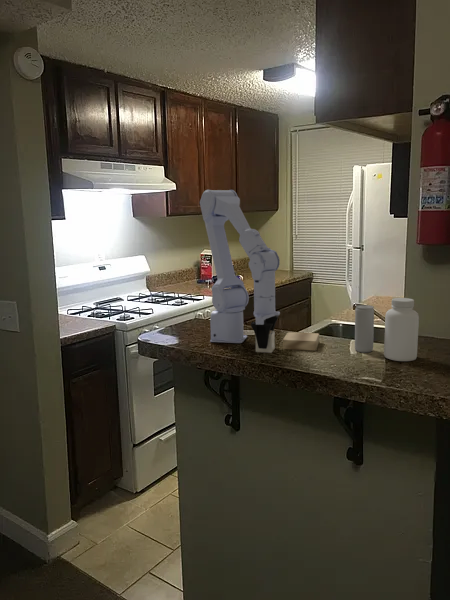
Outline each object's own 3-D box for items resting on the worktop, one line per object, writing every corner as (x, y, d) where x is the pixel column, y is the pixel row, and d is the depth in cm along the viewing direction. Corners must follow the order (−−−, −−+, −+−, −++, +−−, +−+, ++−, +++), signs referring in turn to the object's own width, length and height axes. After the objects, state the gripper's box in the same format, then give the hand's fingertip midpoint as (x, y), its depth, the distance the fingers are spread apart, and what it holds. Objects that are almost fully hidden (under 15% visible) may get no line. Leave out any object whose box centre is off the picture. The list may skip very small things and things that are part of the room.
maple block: (282, 350, 140) (282, 339, 139) (287, 342, 148) (287, 332, 148) (315, 352, 137) (315, 341, 137) (319, 343, 146) (319, 333, 145)
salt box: (255, 352, 138) (255, 333, 137) (259, 347, 142) (258, 329, 141) (271, 352, 136) (271, 333, 135) (274, 348, 140) (274, 330, 140)
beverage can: (369, 354, 132) (370, 308, 130) (351, 351, 135) (352, 307, 133) (375, 349, 136) (377, 305, 134) (358, 347, 139) (359, 304, 137)
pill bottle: (423, 360, 125) (426, 301, 123) (393, 363, 124) (395, 302, 122) (407, 352, 133) (409, 295, 130) (378, 354, 132) (379, 297, 129)
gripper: (274, 300, 128) (275, 352, 131) (283, 291, 142) (284, 339, 145) (247, 300, 130) (248, 351, 133) (259, 291, 144) (259, 338, 146)
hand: (265, 344), depth 139 cm, fingers open, 6 cm apart
